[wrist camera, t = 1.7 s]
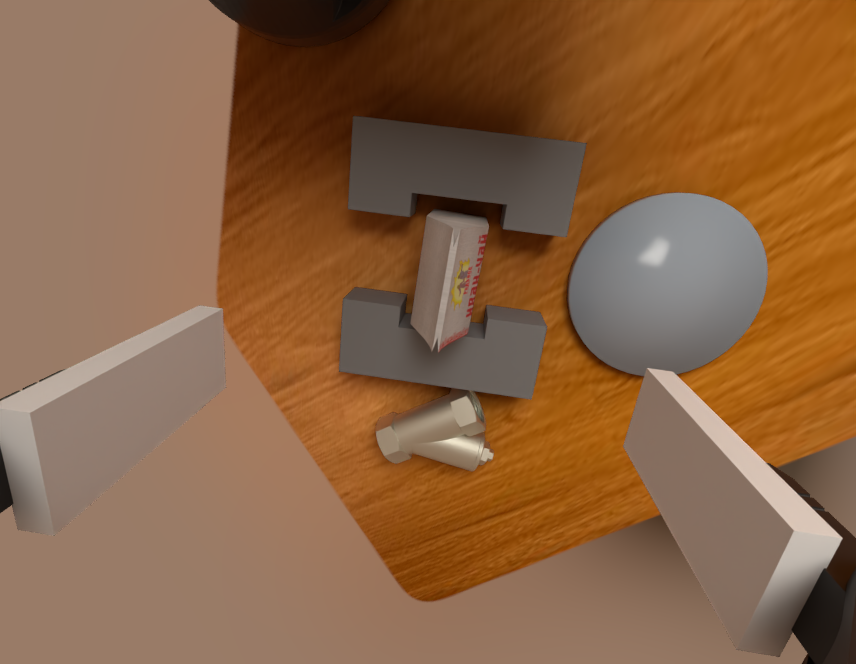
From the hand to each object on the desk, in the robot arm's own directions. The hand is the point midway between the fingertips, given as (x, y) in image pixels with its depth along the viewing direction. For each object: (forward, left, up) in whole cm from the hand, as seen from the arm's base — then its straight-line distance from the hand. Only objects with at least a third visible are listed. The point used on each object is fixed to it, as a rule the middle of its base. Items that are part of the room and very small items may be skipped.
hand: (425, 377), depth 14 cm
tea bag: (0, 0, -21) cm, 21 cm away
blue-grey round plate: (0, +15, -20) cm, 25 cm away
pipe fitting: (+14, +1, -21) cm, 25 cm away
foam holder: (0, 0, -20) cm, 20 cm away
